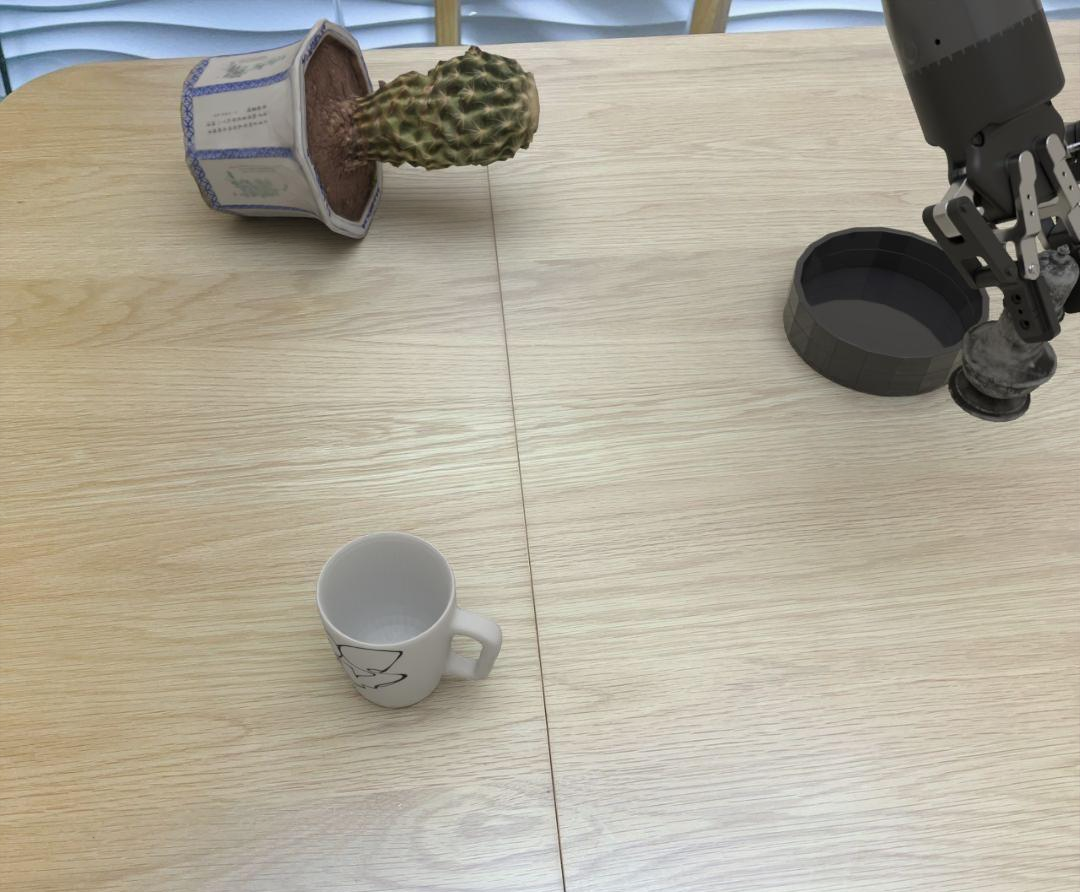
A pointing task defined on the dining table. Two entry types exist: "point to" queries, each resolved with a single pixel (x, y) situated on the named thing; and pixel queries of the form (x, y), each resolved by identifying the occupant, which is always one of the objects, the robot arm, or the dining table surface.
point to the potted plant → (342, 125)
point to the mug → (399, 618)
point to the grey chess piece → (1010, 353)
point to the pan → (881, 311)
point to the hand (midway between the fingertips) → (1063, 322)
